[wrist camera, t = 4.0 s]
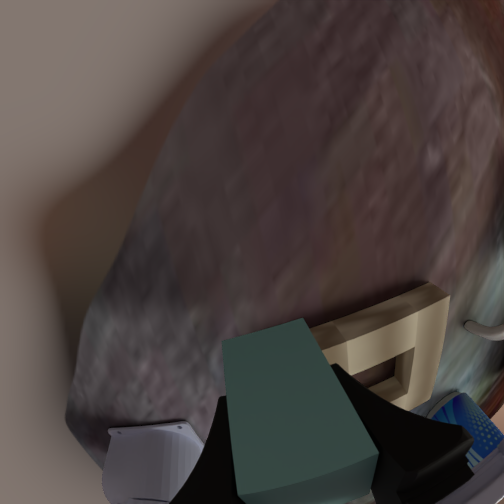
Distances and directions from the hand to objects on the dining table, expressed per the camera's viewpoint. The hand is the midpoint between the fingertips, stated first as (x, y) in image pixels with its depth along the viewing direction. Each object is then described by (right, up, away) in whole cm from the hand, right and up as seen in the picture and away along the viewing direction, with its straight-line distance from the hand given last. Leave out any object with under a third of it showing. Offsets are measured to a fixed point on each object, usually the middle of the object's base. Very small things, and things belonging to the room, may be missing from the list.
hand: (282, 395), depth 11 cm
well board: (+10, -5, +13) cm, 17 cm away
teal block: (0, +1, +2) cm, 3 cm away
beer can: (+28, -17, +19) cm, 38 cm away
